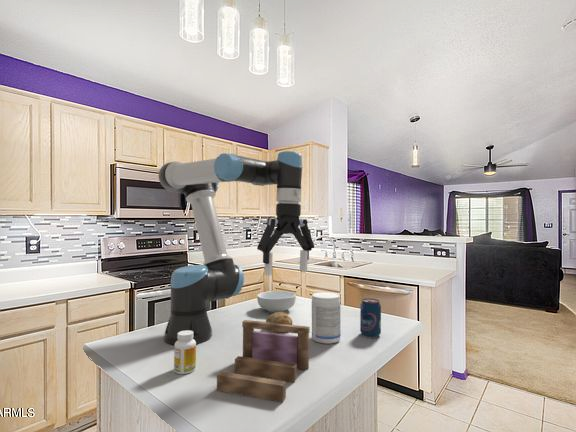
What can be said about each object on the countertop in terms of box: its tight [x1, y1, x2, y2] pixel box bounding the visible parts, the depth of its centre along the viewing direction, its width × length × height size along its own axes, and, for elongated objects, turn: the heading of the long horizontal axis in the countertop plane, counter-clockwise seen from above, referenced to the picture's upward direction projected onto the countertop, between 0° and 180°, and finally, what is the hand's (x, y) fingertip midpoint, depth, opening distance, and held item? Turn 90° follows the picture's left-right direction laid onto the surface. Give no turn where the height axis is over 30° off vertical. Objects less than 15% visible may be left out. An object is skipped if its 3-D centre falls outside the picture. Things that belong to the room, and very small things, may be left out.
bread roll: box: [265, 312, 293, 334], centre depth 119 cm, size 10×10×8 cm
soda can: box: [359, 298, 382, 339], centre depth 113 cm, size 7×7×12 cm
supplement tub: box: [311, 292, 342, 345], centre depth 109 cm, size 10×10×15 cm
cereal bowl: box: [256, 290, 297, 314], centre depth 143 cm, size 17×17×7 cm
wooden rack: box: [216, 319, 311, 403], centre depth 82 cm, size 19×19×11 cm
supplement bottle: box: [173, 330, 197, 375], centre depth 85 cm, size 5×5×10 cm
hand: (286, 272), depth 99 cm, fingers open, 13 cm apart
